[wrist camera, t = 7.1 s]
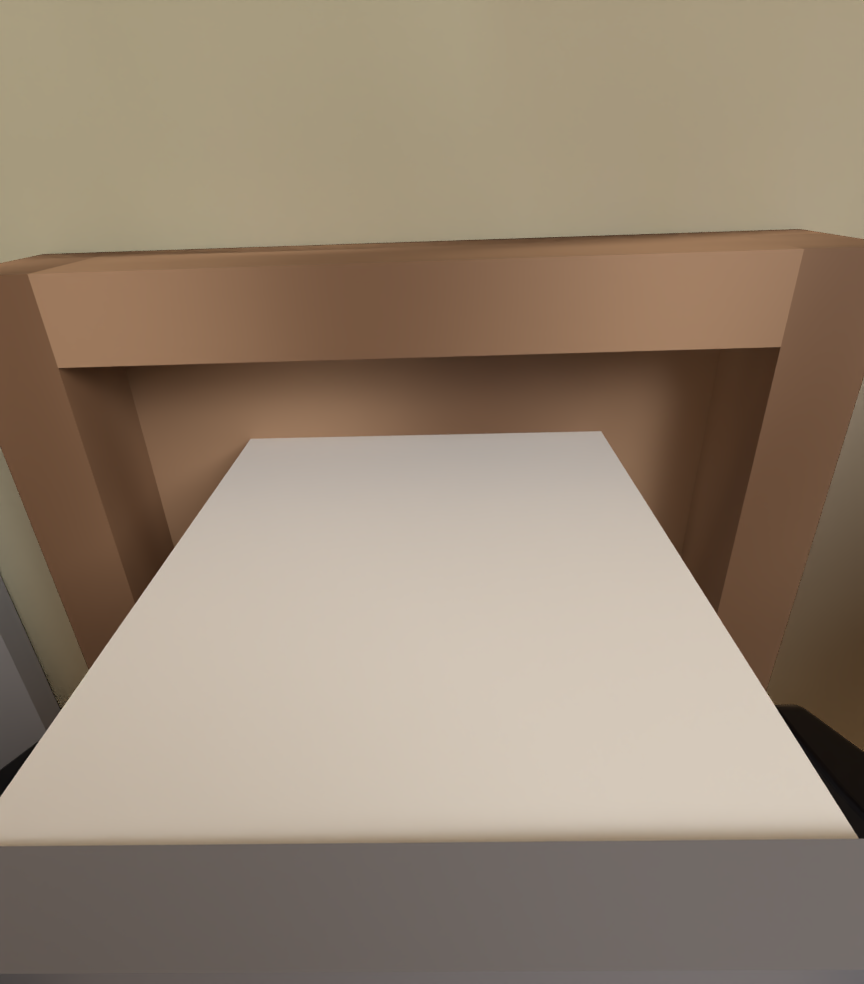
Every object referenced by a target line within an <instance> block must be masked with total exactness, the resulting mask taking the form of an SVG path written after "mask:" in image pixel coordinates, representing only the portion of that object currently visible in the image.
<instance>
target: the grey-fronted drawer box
mask: <svg viewBox="0 0 864 984" xmlns="http://www.w3.org/2000/svg"><path fill="white" fill-rule="evenodd" d="M0 984H864V839H859V838H858V836H857V835H856V833H855V832H854V830H853V829H852V827H851V825H850V824H849V822H848V821H847V819H846V817H845V816H844V814H843V813H842V811H841V810H840V808H839V806H838V805H837V803H836V802H835V800H834V799H833V797H832V795H831V794H830V792H829V791H828V789H827V787H826V786H825V784H824V783H823V781H822V780H821V778H820V776H819V775H818V773H817V772H816V770H815V769H814V767H813V765H812V764H811V762H810V761H809V759H808V757H807V756H806V754H805V753H804V751H803V750H802V748H801V746H800V745H799V743H798V742H797V740H796V738H795V737H794V735H793V734H792V732H791V731H790V729H789V727H788V726H787V724H786V723H785V721H784V720H783V718H782V716H781V715H780V713H779V712H778V710H777V708H776V707H775V705H774V704H773V702H772V701H771V699H770V697H769V696H768V694H767V693H766V691H765V690H764V688H763V686H762V685H761V683H760V682H759V680H758V678H757V677H756V675H755V674H754V672H753V671H752V669H751V667H750V666H749V664H748V663H747V661H746V659H745V658H744V656H743V655H742V653H741V652H740V650H739V648H738V647H737V645H736V644H735V642H734V641H733V639H732V637H731V636H730V634H729V633H728V631H727V629H726V628H725V626H724V625H723V623H722V622H721V620H720V618H719V617H718V615H717V614H716V612H715V610H714V609H713V607H712V606H711V604H710V603H709V601H708V599H707V598H706V596H705V595H704V593H703V592H702V590H701V588H700V587H699V585H698V584H697V582H696V580H695V579H694V577H693V576H692V574H691V573H690V571H689V569H688V568H687V566H686V565H685V563H684V562H683V560H682V558H681V557H680V555H679V554H678V552H677V550H676V549H675V547H674V546H673V544H672V543H671V541H670V539H669V538H668V536H667V535H666V533H665V531H664V530H663V528H662V527H661V525H660V524H659V522H658V520H657V519H656V517H655V516H654V514H653V513H652V511H651V509H650V508H649V506H648V505H647V503H646V501H645V500H644V498H643V497H642V495H641V494H640V492H639V490H638V489H637V487H636V486H635V484H634V483H633V481H632V479H631V478H630V476H629V475H628V473H627V471H626V470H625V468H624V467H623V465H622V464H621V462H620V460H619V459H618V457H617V456H616V454H615V452H614V451H613V449H612V448H611V446H610V445H609V443H608V441H607V440H606V438H605V437H604V435H603V434H602V432H601V431H589V432H543V433H497V434H450V435H404V436H357V437H311V438H264V439H250V440H249V442H248V443H247V445H246V446H245V448H244V449H243V451H242V452H241V453H240V455H239V456H238V458H237V459H236V461H235V462H234V463H233V465H232V466H231V468H230V469H229V471H228V472H227V473H226V475H225V476H224V478H223V479H222V481H221V482H220V483H219V485H218V486H217V488H216V489H215V491H214V492H213V493H212V495H211V496H210V498H209V499H208V501H207V502H206V503H205V505H204V506H203V508H202V509H201V511H200V512H199V513H198V515H197V516H196V518H195V519H194V521H193V522H192V523H191V525H190V526H189V528H188V529H187V531H186V532H185V533H184V535H183V536H182V538H181V539H180V541H179V542H178V543H177V545H176V546H175V548H174V549H173V551H172V552H171V554H170V555H169V556H168V558H167V559H166V561H165V562H164V564H163V565H162V566H161V568H160V569H159V571H158V572H157V574H156V575H155V576H154V578H153V579H152V581H151V582H150V584H149V585H148V586H147V588H146V589H145V591H144V592H143V594H142V595H141V596H140V598H139V599H138V601H137V602H136V604H135V605H134V606H133V608H132V609H131V611H130V612H129V614H128V615H127V616H126V618H125V619H124V621H123V622H122V624H121V625H120V626H119V628H118V629H117V631H116V632H115V634H114V635H113V636H112V638H111V639H110V641H109V642H108V644H107V645H106V646H105V648H104V649H103V651H102V652H101V654H100V655H99V657H98V658H97V659H96V661H95V662H94V664H93V665H92V667H91V668H90V669H89V671H88V672H87V674H86V675H85V677H84V678H83V679H82V681H81V682H80V684H79V685H78V687H77V688H76V689H75V691H74V692H73V694H72V695H71V697H70V698H69V699H68V701H67V702H66V704H65V705H64V707H63V708H62V709H61V711H60V712H59V714H58V715H57V717H56V718H55V719H54V721H53V722H52V724H51V725H50V727H49V728H48V729H47V731H46V732H45V734H44V735H43V737H42V738H41V739H40V741H39V742H38V744H37V745H36V747H35V748H34V749H33V751H32V752H31V754H30V755H29V757H28V758H27V760H26V761H25V762H24V764H23V765H22V767H21V768H20V770H19V771H18V772H17V774H16V775H15V777H14V778H13V780H12V781H11V782H10V784H9V785H8V787H7V788H6V790H5V791H4V792H3V794H2V795H1V797H0Z"/></svg>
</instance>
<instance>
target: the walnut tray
mask: <svg viewBox="0 0 864 984" xmlns="http://www.w3.org/2000/svg"><path fill="white" fill-rule="evenodd" d="M863 377H864V239H859V238H853V237H846V236H840V235H834V234H827V233H821V232H814V231H808V230H802V229H789V230H759V231H729V232H699V233H669V234H639V235H609V236H578V237H548V238H518V239H488V240H458V241H428V242H398V243H367V244H337V245H307V246H277V247H247V248H217V249H187V250H157V251H126V252H96V253H66V254H42V255H37V256H33V257H28V258H23V259H18V260H13V261H9V262H4V263H0V447H1V449H2V452H3V454H4V457H5V459H6V462H7V464H8V467H9V469H10V472H11V474H12V477H13V479H14V482H15V485H16V487H17V490H18V492H19V495H20V497H21V500H22V502H23V505H24V507H25V510H26V512H27V515H28V517H29V520H30V522H31V525H32V527H33V530H34V532H35V535H36V538H37V540H38V543H39V545H40V548H41V550H42V553H43V555H44V558H45V560H46V563H47V565H48V568H49V570H50V573H51V575H52V578H53V580H54V583H55V585H56V588H57V590H58V593H59V596H60V598H61V601H62V603H63V606H64V608H65V611H66V613H67V616H68V618H69V621H70V623H71V626H72V628H73V631H74V633H75V636H76V638H77V641H78V643H79V646H80V649H81V651H82V654H83V656H84V659H85V661H86V664H87V666H88V669H90V668H91V667H92V665H93V664H94V662H95V661H96V659H97V658H98V657H99V655H100V654H101V652H102V651H103V649H104V648H105V646H106V645H107V644H108V642H109V641H110V639H111V638H112V636H113V635H114V634H115V632H116V631H117V629H118V628H119V626H120V625H121V624H122V622H123V621H124V619H125V618H126V616H127V615H128V614H129V612H130V611H131V609H132V608H133V606H134V605H135V604H136V602H137V601H138V599H139V598H140V596H141V595H142V594H143V592H144V591H145V589H146V588H147V586H148V585H149V584H150V582H151V581H152V579H153V578H154V576H155V575H156V574H157V572H158V571H159V569H160V568H161V566H162V565H163V564H164V562H165V561H166V559H167V558H168V556H169V555H170V554H171V552H172V551H173V549H174V548H175V546H176V545H177V543H178V542H179V541H180V539H181V538H182V536H183V535H184V533H185V532H186V531H187V529H188V528H189V526H190V525H191V523H192V522H193V521H194V519H195V518H196V516H197V515H198V513H199V512H200V511H201V509H202V508H203V506H204V505H205V503H206V502H207V501H208V499H209V498H210V496H211V495H212V493H213V492H214V491H215V489H216V488H217V486H218V485H219V483H220V482H221V481H222V479H223V478H224V476H225V475H226V473H227V472H228V471H229V469H230V468H231V466H232V465H233V463H234V462H235V461H236V459H237V458H238V456H239V455H240V453H241V452H242V451H243V449H244V448H245V446H246V445H247V443H248V442H249V440H250V439H264V438H311V437H357V436H404V435H450V434H497V433H543V432H589V431H601V432H602V434H603V435H604V437H605V438H606V440H607V441H608V443H609V445H610V446H611V448H612V449H613V451H614V452H615V454H616V456H617V457H618V459H619V460H620V462H621V464H622V465H623V467H624V468H625V470H626V471H627V473H628V475H629V476H630V478H631V479H632V481H633V483H634V484H635V486H636V487H637V489H638V490H639V492H640V494H641V495H642V497H643V498H644V500H645V501H646V503H647V505H648V506H649V508H650V509H651V511H652V513H653V514H654V516H655V517H656V519H657V520H658V522H659V524H660V525H661V527H662V528H663V530H664V531H665V533H666V535H667V536H668V538H669V539H670V541H671V543H672V544H673V546H674V547H675V549H676V550H677V552H678V554H679V555H680V557H681V558H682V560H683V562H684V563H685V565H686V566H687V568H688V569H689V571H690V573H691V574H692V576H693V577H694V579H695V580H696V582H697V584H698V585H699V587H700V588H701V590H702V592H703V593H704V595H705V596H706V598H707V599H708V601H709V603H710V604H711V606H712V607H713V609H714V610H715V612H716V614H717V615H718V617H719V618H720V620H721V622H722V623H723V625H724V626H725V628H726V629H727V631H728V633H729V634H730V636H731V637H732V639H733V641H734V642H735V644H736V645H737V647H738V648H739V650H740V652H741V653H742V655H743V656H744V658H745V659H746V661H747V663H748V664H749V666H750V667H751V669H752V671H753V672H754V674H755V675H756V677H757V678H758V680H759V682H760V683H761V685H762V686H763V688H764V690H765V691H766V690H767V687H768V684H769V681H770V678H771V674H772V671H773V668H774V665H775V661H776V658H777V655H778V652H779V648H780V645H781V642H782V639H783V636H784V632H785V629H786V626H787V623H788V619H789V616H790V613H791V610H792V606H793V603H794V600H795V597H796V594H797V590H798V587H799V584H800V581H801V577H802V574H803V571H804V568H805V565H806V561H807V558H808V555H809V552H810V548H811V545H812V542H813V539H814V535H815V532H816V529H817V526H818V523H819V519H820V516H821V513H822V510H823V506H824V503H825V500H826V497H827V493H828V490H829V487H830V484H831V481H832V477H833V474H834V471H835V468H836V464H837V461H838V458H839V455H840V452H841V448H842V445H843V442H844V439H845V435H846V432H847V429H848V426H849V422H850V419H851V416H852V413H853V410H854V406H855V403H856V400H857V397H858V393H859V390H860V387H861V384H862V380H863Z"/></svg>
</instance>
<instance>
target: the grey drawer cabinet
mask: <svg viewBox="0 0 864 984" xmlns="http://www.w3.org/2000/svg"><path fill="white" fill-rule="evenodd" d="M59 712H60V708H59V706H58V704H57V702H56V699H55V697H54V695H53V693H52V690H51V688H50V686H49V684H48V681H47V679H46V677H45V675H44V672H43V670H42V668H41V666H40V663H39V661H38V659H37V657H36V654H35V652H34V650H33V648H32V645H31V643H30V641H29V639H28V636H27V634H26V632H25V630H24V627H23V625H22V623H21V621H20V618H19V616H18V614H17V612H16V609H15V607H14V605H13V603H12V600H11V598H10V596H9V594H8V591H7V589H6V587H5V585H4V582H3V580H2V578H1V576H0V769H1V768H3V767H4V766H5V765H7V764H8V763H9V762H11V761H12V760H13V759H15V758H16V757H17V756H19V755H20V754H21V753H23V752H24V751H25V750H27V749H28V748H29V747H31V746H32V745H33V744H35V743H36V742H37V741H39V740H40V739H41V738H42V737H43V735H44V734H45V732H46V731H47V729H48V728H49V727H50V725H51V724H52V722H53V721H54V719H55V718H56V717H57V715H58V714H59Z"/></svg>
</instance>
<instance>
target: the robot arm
mask: <svg viewBox="0 0 864 984" xmlns="http://www.w3.org/2000/svg"><path fill="white" fill-rule="evenodd" d="M775 707H776V708H777V710H778V712H779V713H780V715H781V716H782V718H783V720H784V721H785V723H786V724H787V726H788V727H789V729H790V731H791V732H792V734H793V735H794V737H795V738H796V740H797V742H798V743H799V745H800V746H801V748H802V750H803V751H804V753H805V754H806V756H807V757H808V759H809V761H810V762H811V764H812V765H813V767H814V769H815V770H816V772H817V773H818V775H819V776H820V778H821V780H822V781H823V783H824V784H825V786H826V787H827V789H828V791H829V792H830V794H831V795H832V797H833V799H834V800H835V802H836V803H837V805H838V806H839V808H840V810H841V811H842V813H843V814H844V816H845V817H846V819H847V821H848V822H849V824H850V825H851V827H852V829H853V830H854V832H855V833H856V835H857V836H858V838H859V839H864V752H863V751H862V750H860V749H859V748H858V747H856V746H855V745H854V744H852V743H851V742H850V741H848V740H847V739H845V738H844V737H843V736H841V735H840V734H839V733H837V732H836V731H835V730H833V729H832V728H830V727H829V726H828V725H826V724H825V723H824V722H822V721H821V720H819V719H818V718H817V717H815V716H814V715H813V714H811V713H810V712H809V711H807V710H806V709H804V708H802V707H800V706H798V705H775ZM39 741H40V740H39ZM39 741H37V742H36V743H35V744H33V745H32V746H31V747H29V748H28V749H27V750H25V751H24V752H23V753H21V754H20V755H19V756H17V757H16V758H15V759H13V760H12V761H11V762H9V763H8V764H7V765H5V766H4V767H3V768H1V769H0V797H1V795H2V794H3V792H4V791H5V790H6V788H7V787H8V785H9V784H10V782H11V781H12V780H13V778H14V777H15V775H16V774H17V772H18V771H19V770H20V768H21V767H22V765H23V764H24V762H25V761H26V760H27V758H28V757H29V755H30V754H31V752H32V751H33V749H34V748H35V747H36V745H37V744H38V742H39Z"/></svg>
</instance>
